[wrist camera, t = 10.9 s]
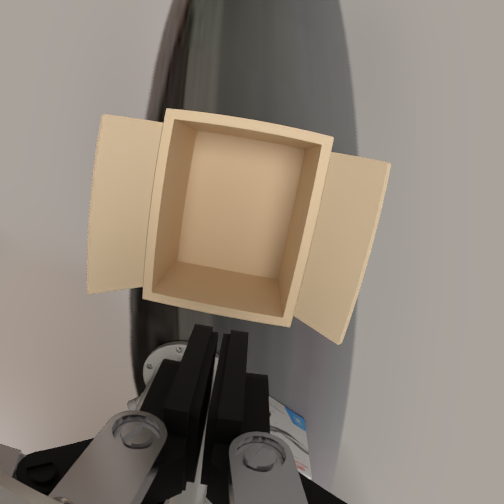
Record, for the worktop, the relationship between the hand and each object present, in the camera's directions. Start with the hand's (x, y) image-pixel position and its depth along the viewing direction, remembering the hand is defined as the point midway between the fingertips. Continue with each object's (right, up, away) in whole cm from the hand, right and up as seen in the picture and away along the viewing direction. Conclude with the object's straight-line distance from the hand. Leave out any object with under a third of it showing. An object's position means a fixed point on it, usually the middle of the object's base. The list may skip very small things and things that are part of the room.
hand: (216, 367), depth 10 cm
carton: (0, +9, +24) cm, 26 cm away
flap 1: (-9, +7, +13) cm, 17 cm away
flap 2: (+7, +4, +13) cm, 15 cm away
